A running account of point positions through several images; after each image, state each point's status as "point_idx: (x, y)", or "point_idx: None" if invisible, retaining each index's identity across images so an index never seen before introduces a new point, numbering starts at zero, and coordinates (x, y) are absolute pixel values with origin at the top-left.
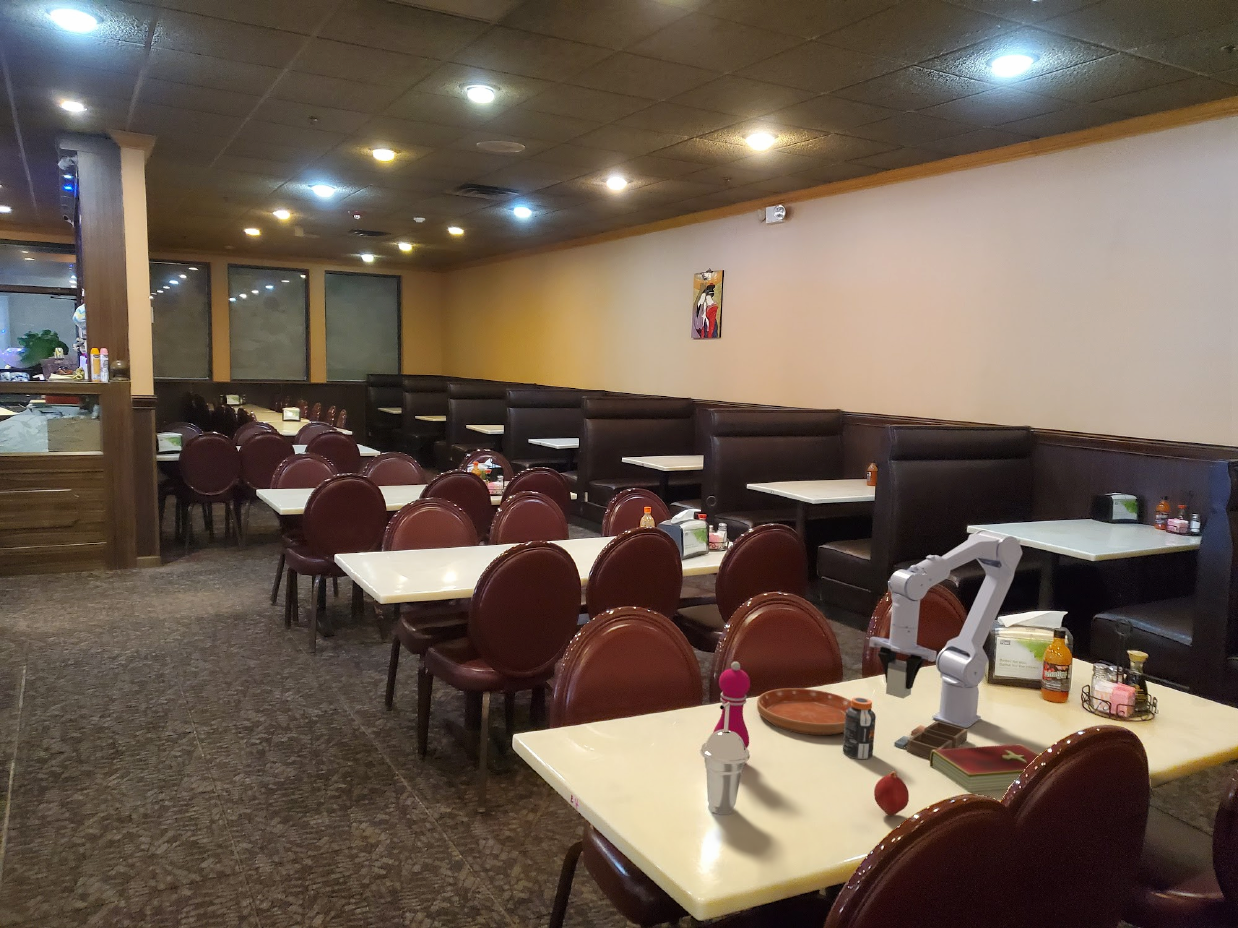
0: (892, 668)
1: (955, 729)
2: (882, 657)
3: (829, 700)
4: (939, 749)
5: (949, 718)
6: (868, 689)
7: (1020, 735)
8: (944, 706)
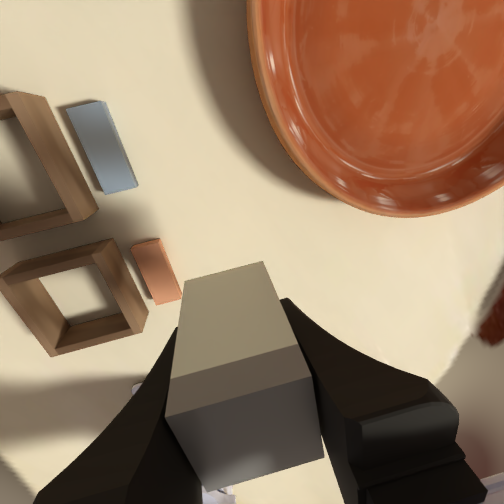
0: (267, 356)
1: (82, 337)
2: (378, 383)
3: (432, 189)
4: None
5: None
6: (401, 365)
7: (58, 447)
8: None
